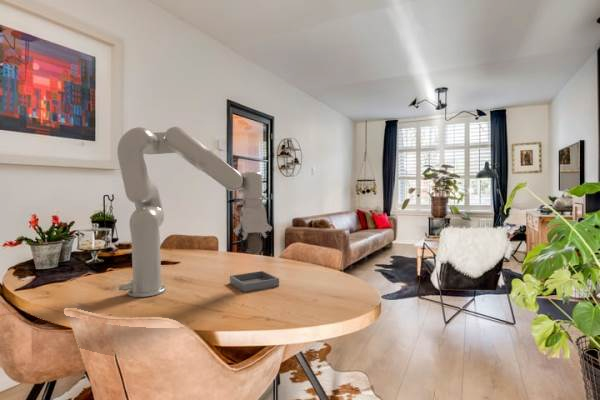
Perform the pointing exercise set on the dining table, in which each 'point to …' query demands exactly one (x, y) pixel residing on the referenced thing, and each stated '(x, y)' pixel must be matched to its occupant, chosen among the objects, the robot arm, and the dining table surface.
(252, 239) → the vase
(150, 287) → the robot arm
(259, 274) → the tray
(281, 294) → the dining table surface
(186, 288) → the dining table surface
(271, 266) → the dining table surface
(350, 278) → the dining table surface
